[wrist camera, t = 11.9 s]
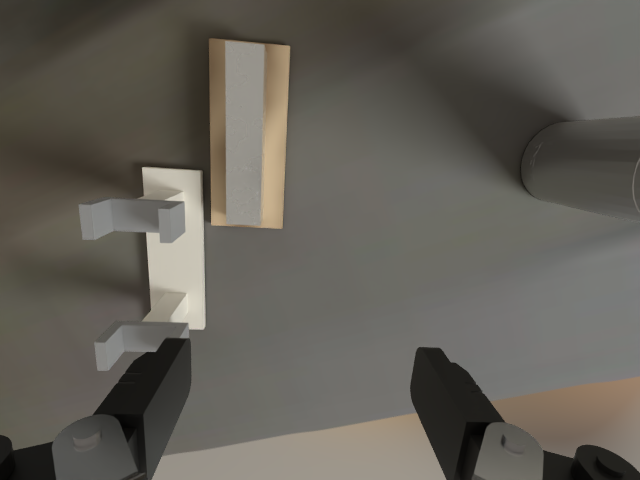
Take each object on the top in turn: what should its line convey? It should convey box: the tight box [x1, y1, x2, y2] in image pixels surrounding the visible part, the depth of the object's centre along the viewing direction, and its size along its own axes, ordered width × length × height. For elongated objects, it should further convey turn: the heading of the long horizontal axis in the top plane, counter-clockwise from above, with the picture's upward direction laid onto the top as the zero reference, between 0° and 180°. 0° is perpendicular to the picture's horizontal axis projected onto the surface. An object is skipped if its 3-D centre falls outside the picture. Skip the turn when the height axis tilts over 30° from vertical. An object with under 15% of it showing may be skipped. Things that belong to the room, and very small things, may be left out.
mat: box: [209, 38, 290, 229], centre depth 38 cm, size 8×19×1 cm, turn 176°
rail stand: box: [79, 167, 206, 371], centre depth 35 cm, size 7×19×12 cm, turn 176°
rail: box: [225, 41, 267, 226], centre depth 36 cm, size 4×17×4 cm, turn 176°
